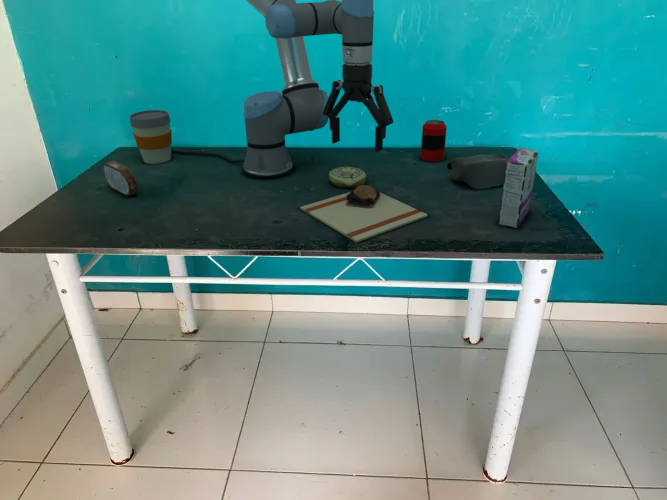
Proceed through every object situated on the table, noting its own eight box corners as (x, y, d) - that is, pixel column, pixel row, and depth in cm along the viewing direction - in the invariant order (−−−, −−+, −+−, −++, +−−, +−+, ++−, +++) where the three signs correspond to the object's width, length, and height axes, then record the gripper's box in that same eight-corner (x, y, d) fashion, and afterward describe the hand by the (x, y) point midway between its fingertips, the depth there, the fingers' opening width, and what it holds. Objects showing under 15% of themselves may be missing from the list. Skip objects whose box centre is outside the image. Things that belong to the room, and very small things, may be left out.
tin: (141, 196, 147) (135, 168, 143) (130, 200, 145) (124, 171, 141) (115, 183, 157) (109, 156, 152) (105, 187, 155) (98, 159, 150)
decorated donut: (353, 192, 147) (352, 180, 146) (322, 184, 153) (321, 172, 151) (372, 180, 155) (372, 168, 153) (342, 174, 160) (342, 162, 158)
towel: (300, 208, 138) (300, 206, 138) (367, 188, 150) (367, 186, 150) (356, 242, 121) (356, 240, 121) (427, 216, 133) (427, 214, 132)
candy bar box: (509, 208, 136) (519, 147, 128) (529, 212, 134) (540, 150, 126) (496, 224, 128) (506, 160, 120) (517, 229, 126) (528, 164, 118)
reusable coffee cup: (148, 152, 182) (139, 109, 175) (182, 153, 180) (175, 110, 173) (131, 164, 171) (121, 119, 164) (167, 166, 170) (159, 120, 162)
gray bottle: (500, 171, 160) (503, 146, 156) (520, 184, 150) (524, 158, 147) (444, 177, 156) (446, 152, 152) (461, 191, 147) (464, 165, 143)
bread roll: (353, 190, 147) (353, 178, 145) (382, 194, 145) (383, 181, 143) (342, 205, 138) (342, 192, 136) (373, 209, 136) (373, 196, 134)
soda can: (445, 162, 168) (449, 125, 162) (422, 162, 168) (424, 125, 163) (441, 154, 175) (444, 118, 169) (419, 154, 175) (421, 119, 169)
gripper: (308, 61, 133) (311, 142, 143) (394, 70, 120) (390, 158, 131) (325, 56, 138) (327, 135, 149) (409, 65, 126) (404, 150, 136)
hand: (356, 146), depth 140 cm, fingers open, 13 cm apart
